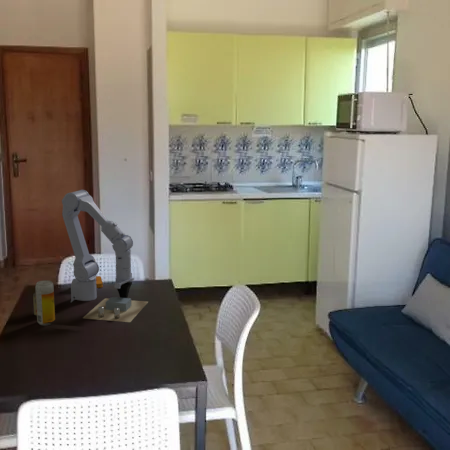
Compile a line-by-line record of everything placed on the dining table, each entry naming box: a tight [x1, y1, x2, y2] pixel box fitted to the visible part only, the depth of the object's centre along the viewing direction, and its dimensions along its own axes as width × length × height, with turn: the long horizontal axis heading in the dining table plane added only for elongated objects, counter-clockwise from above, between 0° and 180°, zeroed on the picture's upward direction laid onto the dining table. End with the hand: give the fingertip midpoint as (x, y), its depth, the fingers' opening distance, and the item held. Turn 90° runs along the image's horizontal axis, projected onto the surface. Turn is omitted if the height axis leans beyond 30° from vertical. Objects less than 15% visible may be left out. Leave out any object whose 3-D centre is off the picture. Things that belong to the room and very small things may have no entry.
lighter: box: [32, 291, 37, 316], centre depth 211 cm, size 7×4×10 cm, turn 96°
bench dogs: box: [98, 306, 120, 319], centre depth 206 cm, size 8×2×4 cm, turn 80°
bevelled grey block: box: [106, 296, 132, 311], centre depth 216 cm, size 8×6×3 cm
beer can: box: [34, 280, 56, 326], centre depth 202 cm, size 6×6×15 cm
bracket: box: [96, 275, 104, 289], centre depth 244 cm, size 11×7×12 cm, turn 17°
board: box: [82, 297, 149, 323], centre depth 214 cm, size 18×22×1 cm
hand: (123, 300), depth 222 cm, fingers closed
